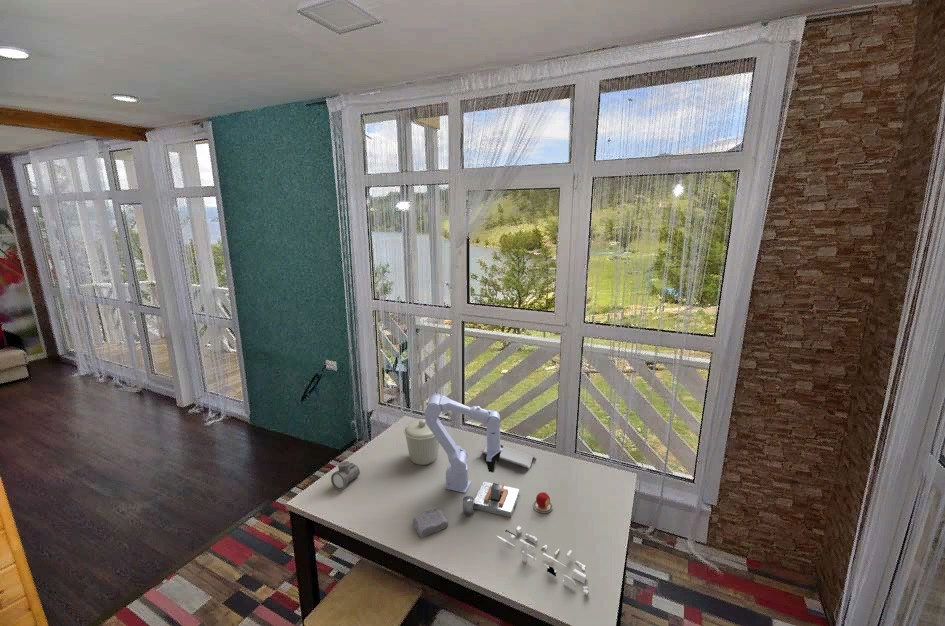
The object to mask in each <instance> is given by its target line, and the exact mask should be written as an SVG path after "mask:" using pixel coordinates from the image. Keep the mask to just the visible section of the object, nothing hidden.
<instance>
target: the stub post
mask: <svg viewBox="0 0 945 626" xmlns="http://www.w3.org/2000/svg"><path fill="white" fill-rule="evenodd" d="M474 500H475V498H474V497H473V496H471V495H466V496H463V498H462V514H463V516H465V517H471V516H473V515H474V513H475V511H474V510H475V508H474Z"/></svg>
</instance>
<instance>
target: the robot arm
mask: <svg viewBox="0 0 945 626" xmlns="http://www.w3.org/2000/svg"><path fill="white" fill-rule="evenodd" d="M448 412H454V413H458V414H462V415H465V416H468V418H469V419H470V420H471V421H475V422H478V423H480V424H484V425H486V443H487V448H486V449H487V454H486V455H484V456H483V461H484V463H485V465H486V467H487V470H488V472H490V473H494V472H495V468H496V463H498V462H499V461H500V453H501V452H502V451H503V446H504V445H502V444H501V427H500V426H501V415H500V413H499V411H497V410H496V409H485V408H481V406H479V405H477V406H476V405H473V406H468V405H466V404H463V403H460V402H458V401H456V400H453V399H451V398H449V397H448V396H446V395H442V394H440V393H432V395H430V397H429V399H428V401H427V405H426V407H425V410H424V416H425V417H424V419H425V422H426V424H427V426H428V427H429V428H430V430H431V431H432V433H433V434H434V436H435V437H436V439H437V440H438V441H439V445H440V446H441V447H442V448H443V450H444V452H445V453H446V455H447V458H448V462H449V465H447V468H446V470H445V489H446V490H451V491H455V492H459V493H464V494H466V492H468V491H467V490H468V489H469V487H470V485H471V484H472V480H469V466H468V464H467V460H468V457H469V456H468V453H467V451H466V450H465V449H464V448H462V447H461V446H460V445H457V443H456V442H455V441H454V439H453V438H452V436H451V435H450V434H449V432H448V431H447V430H446V428H445V426H444V425H443V423H442V422H441V421H440V419H439V416H440V415H441V413H442V415H444V414H446V413H448Z"/></svg>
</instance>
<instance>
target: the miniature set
mask: <svg viewBox="0 0 945 626" xmlns="http://www.w3.org/2000/svg"><path fill="white" fill-rule="evenodd" d="M523 528H524V527H523V526H521V525H519V524H518V525H517V527H516V528H515V531H516V532H515V533H520V532H521V533H522V532H523ZM504 532H505V533H507V534H508V535H510V538H511V539H512V540H513V539H514V538H516V534H514V533H513V532H511V531H509V530H507V529H505V531H504ZM496 536H497V538H499V539H500V540H502V541H503V542H504V543H505V544H508V545H510V546H511V547H513V548H515V547H516V545H514V544H513V543H511V542H510V541H509V539H505V538H504V537H501V536H499V535H496ZM524 539H525V540H528V541H530V542H532V543H533V544H534V545H537V543H538V538H537V537H536V536H534V535H531V534H529V533H528V532H527V533H526V532H525V534H524ZM524 539H522V538H520V539H519V541H520V542H521V543H523V544H524V547H523V548H524V549H523V550H522V551H521V554H522V562H524V563H525V564H526V561H527V560H528V558H529V559H532V560H533V561H536V560H537V558H536V557H535V556H532V555H531V554H529V547H531V548H534V549H536V547H535V546H534V545H532V544H531V543H528V542H527V541H525V540H524ZM541 550H542V551H543V550H544V552H543V553H542V556H544V557H546V558H547V559H550V560H551V561H553V562H555V563H559V564H560V565H562V566H564V567H565V568H567V565H565V564H563V563H562V562H560V561H558V560H557V559H555V557H553V556H551V555H548V554H547V553H546V552H547V550H548V545H547V544H545V545H543V546H541ZM558 553H560V548H558V549H557V550H556V551H555V552H554V556H557V555H558ZM572 555H573V551H572V550H571V549H570V550H568V552H566V555H565V557H566V558H567V559H570V557H571V556H572ZM575 564H577V565H578V566H579V567H580V568H581V571H584V572H586V567H587V566H586V565H585V564H583V563H581V562H580V561H578V560H575ZM543 566H544V567H546V573H549V574H550V575H553V577H557V573H558V572H557V570H556V569H555V568H554V567H553V566H550V565H548V564H546V563H544V564H543ZM581 571H579V570H578V569H577V568H574V569H573V570H572V574H571V577H569V576H568V575H566V574H563V575H562V576H563V577H564V579H562V582H563V583H564V584H565V585H567V586H569V587H570V588H575V587H576V586H577V584H576V581H575V580H577V581H579V582H581V583H582V584H585V582H586V580H587V576H588V575H586V574H584V573H583V572H581ZM582 593H583V594H584V595H586V596H588V594H589V587H588V586H582Z"/></svg>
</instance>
